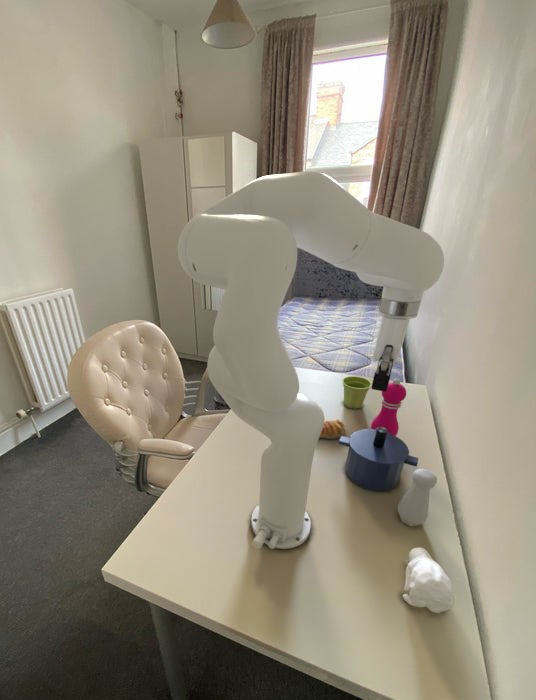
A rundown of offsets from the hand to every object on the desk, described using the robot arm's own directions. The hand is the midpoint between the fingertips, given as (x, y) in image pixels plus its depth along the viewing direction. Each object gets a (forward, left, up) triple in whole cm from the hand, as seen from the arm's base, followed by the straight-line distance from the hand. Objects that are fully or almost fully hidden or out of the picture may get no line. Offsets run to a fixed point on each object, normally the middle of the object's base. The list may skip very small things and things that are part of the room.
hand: (381, 381), depth 77 cm
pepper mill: (+12, -3, -24) cm, 27 cm away
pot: (-4, -3, -24) cm, 24 cm away
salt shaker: (-15, -13, -24) cm, 31 cm away
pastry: (+8, +11, -24) cm, 28 cm away
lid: (-4, -3, -15) cm, 16 cm away
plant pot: (+29, +9, -24) cm, 39 cm away
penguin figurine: (-31, -16, -24) cm, 42 cm away
